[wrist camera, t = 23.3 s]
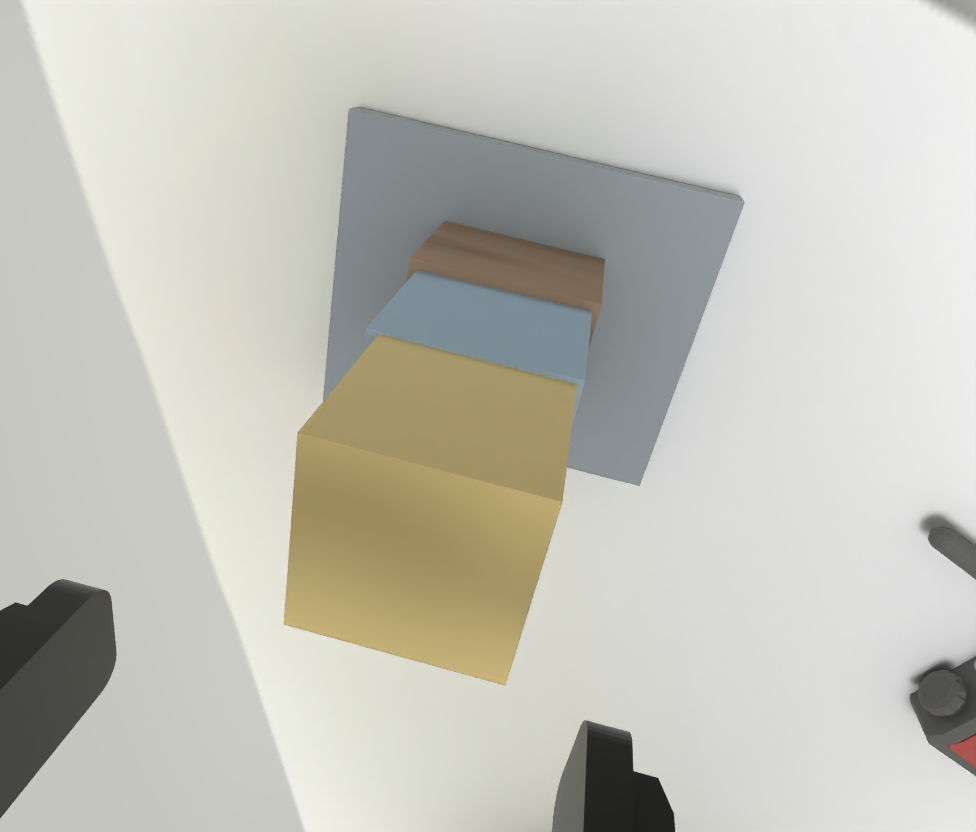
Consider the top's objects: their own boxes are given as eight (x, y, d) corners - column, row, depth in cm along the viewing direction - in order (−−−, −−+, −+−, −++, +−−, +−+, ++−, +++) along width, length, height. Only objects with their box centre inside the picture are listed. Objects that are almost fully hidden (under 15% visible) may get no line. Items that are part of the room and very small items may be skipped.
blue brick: (551, 460, 24) (535, 553, 20) (395, 422, 24) (347, 504, 20) (592, 311, 21) (585, 380, 17) (417, 269, 22) (366, 327, 17)
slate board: (639, 473, 31) (639, 485, 30) (331, 394, 31) (322, 404, 30) (739, 196, 25) (744, 202, 24) (358, 106, 25) (348, 109, 25)
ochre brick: (530, 541, 19) (505, 685, 15) (357, 495, 20) (283, 624, 15) (577, 383, 17) (562, 501, 13) (378, 334, 17) (297, 432, 13)
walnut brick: (564, 401, 28) (554, 466, 24) (421, 365, 29) (386, 423, 24) (605, 259, 26) (601, 303, 21) (445, 220, 26) (410, 257, 21)
